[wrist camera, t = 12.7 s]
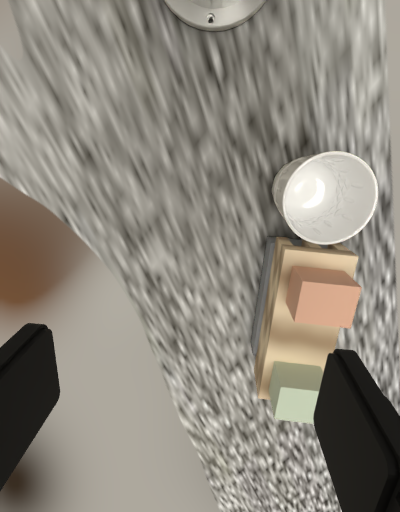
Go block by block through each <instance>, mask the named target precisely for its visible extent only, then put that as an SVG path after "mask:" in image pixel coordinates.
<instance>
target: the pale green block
mask: <svg viewBox="0 0 400 512" xmlns="http://www.w3.org/2000/svg"><path fill="white" fill-rule="evenodd" d="M322 377H323V371H322V369H321V367H320V366H314V365H305V364H296V363H288V362H279V361H274V365H273V370H272V375H271V381H270V386H269V395H270V400H271V405H272V410H273V415H274V419H278V420H286V421H295V422H303V423H311V424H314V420H313V416H314V411H315V406H316V402H317V398H318V394H319V390H320V385H321V381H322Z"/></svg>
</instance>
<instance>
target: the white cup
mask: <svg viewBox="0 0 400 512" xmlns="http://www.w3.org/2000/svg"><path fill="white" fill-rule="evenodd" d="M272 194H273V199H274V203H275V204H276V206H277V209H278V210H279V212H280V214H281V215H282V217H283V218H284V220H285V221H286V222H287V224H288V225H289V227H290V228H291V229H292V231H293V232H294V233H295V234H296V235H298V236H299V237H300V238H302V239H304V240H306V241H308V242H311V243H315V244H322V245H328V244H335V243H339V242H342V241H345V240H347V239H349V238H351V237H352V236H354V235H355V234H357V233H358V232H359V231H360V230H362V229H363V228H364V226H365V225H366V224H367V223H368V221H369V220H370V218H371V217H372V215H373V213H374V211H375V208H376V205H377V200H378V185H377V181H376V178H375V175H374V173H373V171H372V170H371V168H370V167H369V166H368V165H367V164H366V163H365V162H364V161H363V160H362V159H360V158H359V157H357V156H355V155H353V154H350V153H346V152H340V151H331V152H325V153H319V154H313V155H308V156H305V157H301V158H298V159H295V160H293V161H291V162H289V163H288V164H286V165H284V166H283V167H282V168H281V170H280V171H279V172H278V173H277V175H276V176H275V178H274V182H273V187H272Z"/></svg>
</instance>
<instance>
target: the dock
mask: <svg viewBox="0 0 400 512" xmlns="http://www.w3.org/2000/svg"><path fill="white" fill-rule="evenodd" d="M288 239H289V238H288ZM289 240H290V242H291V243H292V244H293V245H294V246H301V244H302V240H299V239H289ZM275 242H276V237H268V236H267V243H266V249H265V255H264V262H263V268H262V274H261V281H260V287H259V293H258V300H257V306H256V312H255V319H254V325H253V331H252V338H251V346H252V352H253V355H257V349H258V343H259V337H260V331H261V325H262V319H263V313H264V307H265V301H266V296H267V290H268V284H269V278H270V272H271V266H272V260H273V254H274V248H275ZM318 245H319V246H320V247H321V248H324V249H327V247H328V245H322V244H318Z"/></svg>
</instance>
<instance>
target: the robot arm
mask: <svg viewBox="0 0 400 512" xmlns="http://www.w3.org/2000/svg"><path fill="white" fill-rule="evenodd" d="M266 1H267V0H164V2H165V3H166V4H167V6H168V7H169V9H170V10H171V11H172V12H173V13H174V14H175V15H176V16H177V17H178V18H179V19H180V20H182V21H184V22H185V23H187V24H188V25H190V26H192V27H195V28H198V29H200V30H206V31H222V30H227V29H230V28H233V27H236V26H238V25H240V24H242V23H243V22H245V21H247V20H248V19H250V18H251V17H252V16H253V15H254V14H255V13H257V12H258V11H259V9H260V8H261V7H262V6H263V4H264V3H265V2H266ZM210 19H212V20H213V23H209V22H208V21H209V20H210ZM59 395H60V387H59V379H58V372H57V365H56V357H55V350H54V342H53V336H52V331H51V330H50V329H48V327H47V326H46V325H44V324H33V323H28V324H26V325H24V326H23V327H22V328H21V329H20V330H19V331H18V332H17V333H16V334H15V335H14V336H12V337H11V338H10V339H9V340H8V341H7V342H6V343H5V344H4V345H3V346H2V347H1V348H0V491H1V489H2V488H3V486H4V484H5V483H6V481H7V480H8V478H9V476H10V475H11V473H12V472H13V470H14V469H15V467H16V466H17V464H18V463H19V461H20V459H21V458H22V456H23V455H24V453H25V452H26V450H27V448H28V447H29V445H30V444H31V442H32V441H33V439H34V438H35V436H36V434H37V433H38V431H39V430H40V428H41V427H42V425H43V423H44V422H45V420H46V418H47V417H48V415H49V414H50V412H51V411H52V409H53V408H54V406H55V405H56V403H57V401H58V399H59ZM313 420H314V426H315V430H316V433H317V436H318V439H319V442H320V445H321V448H322V451H323V454H324V457H325V460H326V463H327V467H328V470H329V473H330V476H331V479H332V482H333V485H334V488H335V491H336V494H337V497H338V500H339V503H340V506H341V510H342V512H400V416H399V414H398V413H397V411H396V410H395V408H394V407H393V405H392V404H391V402H390V401H389V400H388V399H387V397H385V396H384V395H383V394H382V392H381V390H380V389H379V387H378V386H377V384H376V383H375V381H374V380H373V378H372V376H371V375H370V373H369V372H368V370H367V369H366V367H365V365H364V364H363V362H362V361H361V359H360V358H359V356H358V355H357V353H356V352H355V351H353V350H344V349H335V350H334V351H333V353H329V354H328V356H327V360H326V364H325V368H324V373H323V377H322V381H321V385H320V390H319V394H318V398H317V402H316V406H315V411H314V416H313Z"/></svg>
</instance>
